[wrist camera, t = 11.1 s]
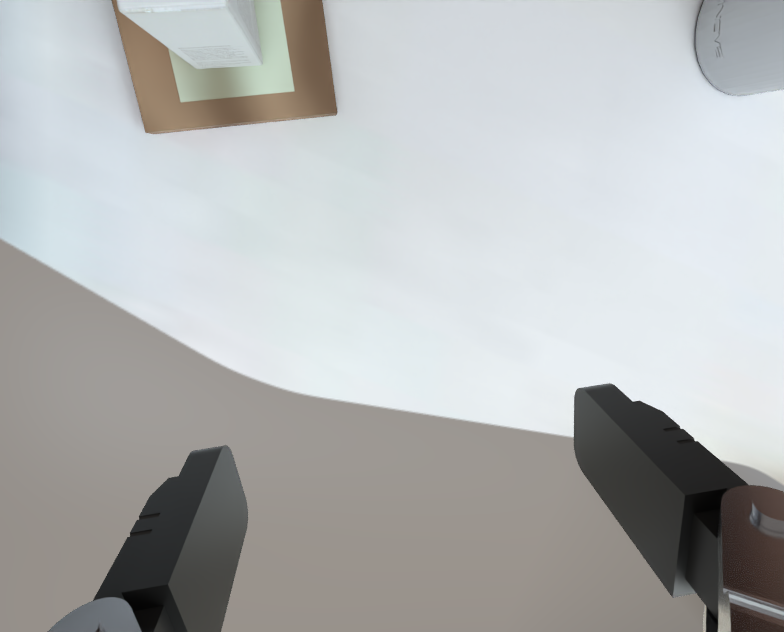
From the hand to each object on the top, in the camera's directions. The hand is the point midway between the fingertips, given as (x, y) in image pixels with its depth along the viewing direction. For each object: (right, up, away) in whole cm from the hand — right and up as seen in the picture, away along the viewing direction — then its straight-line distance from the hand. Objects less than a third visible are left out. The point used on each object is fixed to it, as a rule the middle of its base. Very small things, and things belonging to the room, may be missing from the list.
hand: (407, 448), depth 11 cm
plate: (-11, +22, +19) cm, 30 cm away
